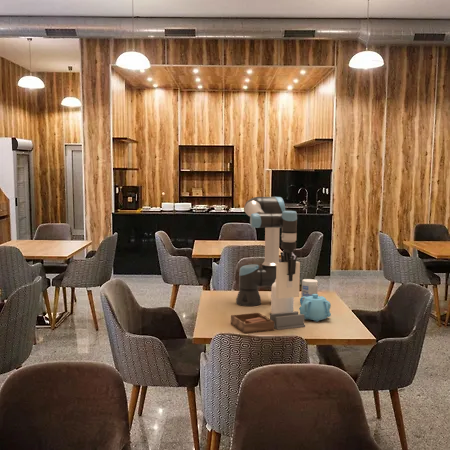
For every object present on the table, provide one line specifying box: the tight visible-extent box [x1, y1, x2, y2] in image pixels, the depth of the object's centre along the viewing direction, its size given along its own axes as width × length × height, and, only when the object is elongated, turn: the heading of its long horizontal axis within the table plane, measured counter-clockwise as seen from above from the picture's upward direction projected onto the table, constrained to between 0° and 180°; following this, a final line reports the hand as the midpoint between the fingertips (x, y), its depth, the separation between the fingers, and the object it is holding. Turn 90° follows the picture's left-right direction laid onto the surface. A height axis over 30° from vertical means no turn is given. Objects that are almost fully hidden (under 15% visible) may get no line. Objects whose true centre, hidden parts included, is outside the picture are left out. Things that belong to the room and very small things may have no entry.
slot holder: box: [269, 311, 306, 331], centre depth 270 cm, size 10×16×6 cm, turn 112°
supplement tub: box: [300, 278, 319, 302], centre depth 316 cm, size 10×10×15 cm
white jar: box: [270, 279, 295, 314], centre depth 293 cm, size 12×12×20 cm
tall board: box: [276, 260, 301, 299], centre depth 268 cm, size 3×12×18 cm, turn 112°
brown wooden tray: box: [230, 312, 275, 334], centre depth 267 cm, size 18×16×4 cm
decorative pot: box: [298, 293, 332, 322], centre depth 284 cm, size 16×16×14 cm
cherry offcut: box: [245, 317, 266, 324], centre depth 264 cm, size 6×9×2 cm, turn 124°
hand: (287, 286), depth 268 cm, fingers closed on tall board, 3 cm apart
